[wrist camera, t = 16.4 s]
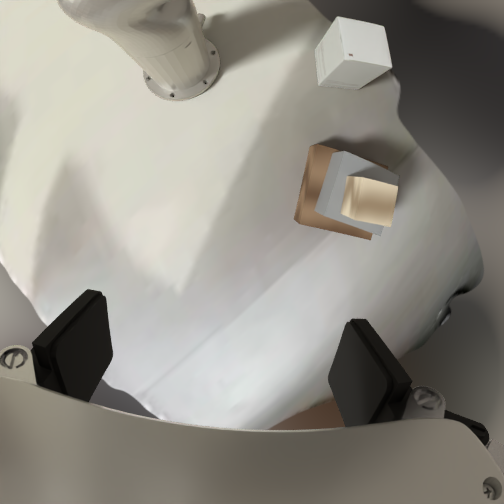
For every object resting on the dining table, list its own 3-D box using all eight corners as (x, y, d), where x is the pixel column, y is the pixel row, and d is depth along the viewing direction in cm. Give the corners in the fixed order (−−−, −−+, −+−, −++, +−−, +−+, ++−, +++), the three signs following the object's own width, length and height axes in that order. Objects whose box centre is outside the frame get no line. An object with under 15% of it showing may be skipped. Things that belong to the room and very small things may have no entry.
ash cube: (346, 175, 34) (362, 177, 29) (379, 183, 35) (398, 186, 30) (340, 213, 35) (355, 220, 31) (373, 219, 36) (390, 227, 31)
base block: (309, 146, 42) (317, 143, 38) (374, 166, 44) (388, 166, 39) (293, 218, 46) (299, 224, 41) (358, 233, 47) (370, 240, 42)
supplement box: (358, 91, 39) (393, 69, 27) (316, 86, 39) (342, 59, 27) (354, 54, 37) (385, 25, 25) (313, 48, 37) (336, 14, 25)
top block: (332, 152, 38) (344, 150, 33) (383, 174, 39) (399, 175, 34) (314, 210, 40) (324, 216, 36) (366, 229, 41) (380, 236, 37)
